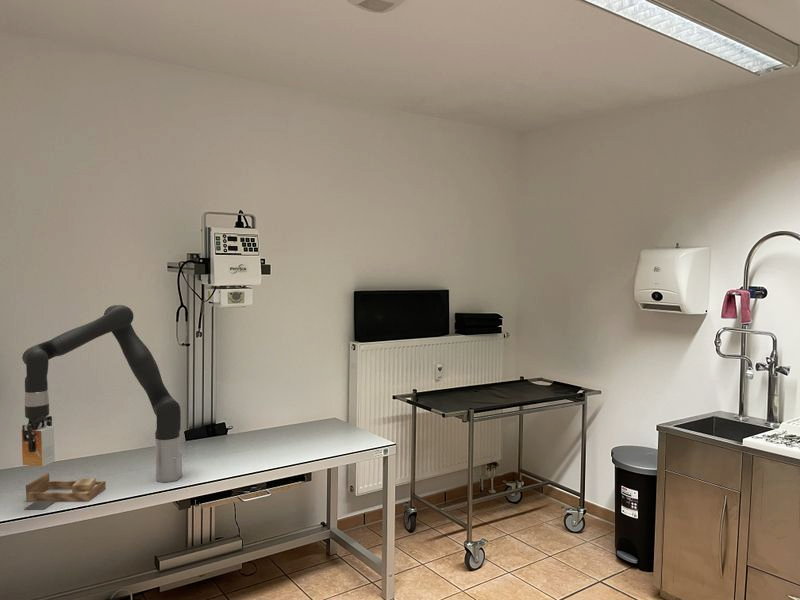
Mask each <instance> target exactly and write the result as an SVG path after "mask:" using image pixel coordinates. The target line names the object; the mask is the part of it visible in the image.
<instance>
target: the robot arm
mask: <svg viewBox="0 0 800 600" xmlns="http://www.w3.org/2000/svg"><path fill="white" fill-rule="evenodd" d="M133 321H134V312H133V310H132V309H131V308H130V307H129V306H126V305H123V304H114V305H111V306H108V307H107V308H106V309H105V311H104V313H103V315H102V316H100V317H99V318H97V319H95V320H93V321H91V322H88V323H85V324H83V325H80V326H77V327H76V328H72V329H70V330H68V331H66V332H63V333H61V334H59V335H57V336H55V337H53V338H51V339H50V340H47V341H43V342H42V343H38V344H35V345H33V346H30V347H29V348H27V349H26V350H25V351H24V352H23V353H22V357H21V358H22V359H21V360H22V361H23V364H25V366H26V367H25V369H26V376H25V378H24V417H25V418H26V419H28V421H27V422H28V423H27V424H22V427H21V428H22V429H21V431H22V430H23V441H26V442H28V450H29V452H35V451H36V441H35V440H36V434H37V433H32V430H39V429H40V428H41V427H46V426H53V416H51V415H50V396H49V388H48V386H49V383H48V371H49V360H51V359H53V358H56V357H60V356H61V357H62V356H63V355H64V356H65V355H66V354H69V353H71V352H72V351H74V350H76V349H78V348H80V347H81V346H83V345H85V344H88V343H90V342H91V341H93V340H95V339H97V338H99V337H102V336H104V335H106V334H109V333H112V335H113V337H114V338H115V339H116V341H117V343H118V344H119V347H120V349H121V351H122V354H123V356H124V358H125V359H126V362H127V364H128V366H129V368H130V370H131V371H132V373H133V375H134V376H135V379H137V382H138V383H139V385H140V386H141V387H142V388H143V390H144V391H145V393H146V395H147V398H148V400H149V402H150V404H151V407H152V410H153V413H154V415H155V416H156V429H155V433H154V434H155V437H154V438H155V479H156V480H155V481H157V482H160V483H170V482H176V481H178V480H179V479H180V478H181V477H182V476H183V457H182V455H183V454H182V453H181V450H180V449H181V448H180V446H181V445H180V443H181V442H180V441H181V440H180V439H181V438H180V437H181V435H180V432H181V429H182V427H181V424H182V422H181V421H182V419H181V418H182V416H181V414H182V413H181V406H180V404H179V402H178V401H176V400H175V399H174V398H173V396H172V395H171V394H170V392H169V391H168V389H167V388H166V386H165V384H164V382H163V379H162V375H161V373H160V368H159V367H158V364H157V362H156V360H155V358H154V356H153V354H152V352H151V351H150V350H149V348H148V347H147V345H146V344H145V343H144V342H143V341H142V340H141V338H140V337H139V336H138V334H137V333H136V331H135V330H134V328H133V326H132V322H133ZM26 435H28V437H27V436H26ZM32 435H33V438H32Z"/></svg>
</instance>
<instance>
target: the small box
mask: <svg viewBox="0 0 800 600" xmlns="http://www.w3.org/2000/svg"><path fill="white" fill-rule="evenodd" d="M54 430H55V428H54V426H53V425H52V426H46V427H41V428H40V429H39V430H32V433H37V434H36V440H35V441H36V451H35V452H29V450H28V442H26V441H23V430H22V429H21V446H22V447H21V449H22V450H21V454H22V465H23V466H33V467H34V466H35V467H45V466H47V465H49V464H50V463H53V462H55V461H56V460H55V459H56V457H55V455H56V454H55V435H54V434H55V431H54ZM26 436H27V437H28V435H26ZM32 438H33V435H32Z"/></svg>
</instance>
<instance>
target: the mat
mask: <svg viewBox="0 0 800 600" xmlns="http://www.w3.org/2000/svg"><path fill="white" fill-rule="evenodd" d="M55 503H56V501H33V502H32V503H31V504H29V505H28V506H26V507H25V508H24V510H25V511H26V510H30V511H31V510H32V511H35V510H39V511H40V510H41V511H42V510H43V511H44V510H46V509H47V508H49V507H51V506H52V505H53V504H55Z"/></svg>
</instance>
